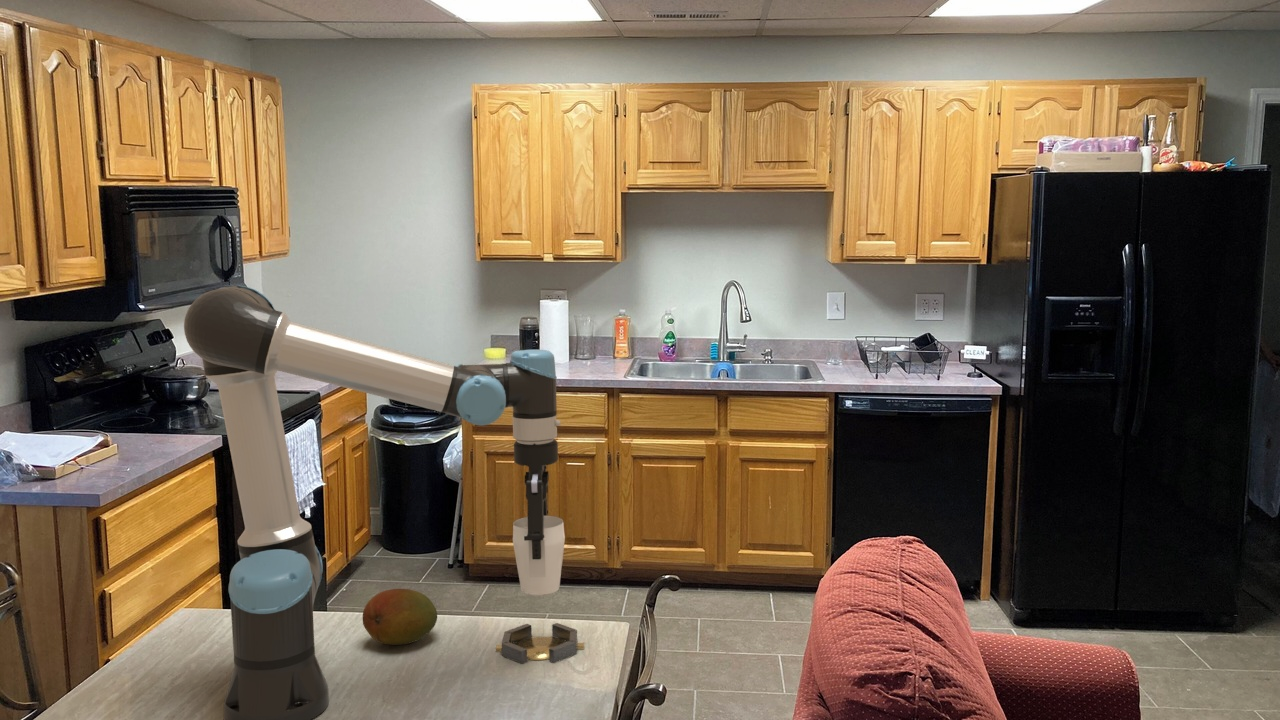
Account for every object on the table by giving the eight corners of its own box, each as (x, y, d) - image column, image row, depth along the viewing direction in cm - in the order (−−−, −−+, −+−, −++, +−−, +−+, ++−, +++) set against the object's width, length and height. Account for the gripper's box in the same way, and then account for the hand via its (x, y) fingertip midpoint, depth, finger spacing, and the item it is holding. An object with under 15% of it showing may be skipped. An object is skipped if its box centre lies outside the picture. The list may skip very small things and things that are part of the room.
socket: (492, 664, 171) (492, 652, 171) (499, 635, 184) (499, 624, 183) (583, 662, 171) (583, 649, 171) (584, 633, 184) (584, 622, 184)
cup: (558, 599, 171) (556, 530, 170) (507, 596, 173) (504, 528, 172) (572, 582, 180) (570, 516, 178) (523, 579, 182) (521, 514, 180)
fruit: (353, 647, 179) (350, 593, 178) (402, 624, 190) (400, 572, 189) (402, 660, 173) (400, 604, 172) (450, 635, 184) (448, 582, 183)
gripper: (554, 452, 163) (558, 587, 165) (560, 428, 184) (563, 548, 187) (507, 453, 162) (512, 588, 165) (518, 429, 184) (522, 549, 187)
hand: (539, 567), depth 176 cm, fingers closed on cup, 9 cm apart
